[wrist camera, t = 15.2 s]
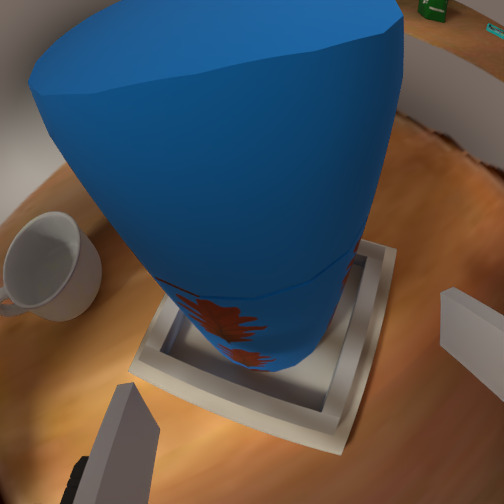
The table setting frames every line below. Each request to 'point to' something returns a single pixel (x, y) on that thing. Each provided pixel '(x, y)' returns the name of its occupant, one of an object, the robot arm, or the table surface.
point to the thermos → (232, 151)
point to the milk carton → (433, 9)
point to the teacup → (50, 270)
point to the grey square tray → (287, 380)
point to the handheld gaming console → (495, 30)
